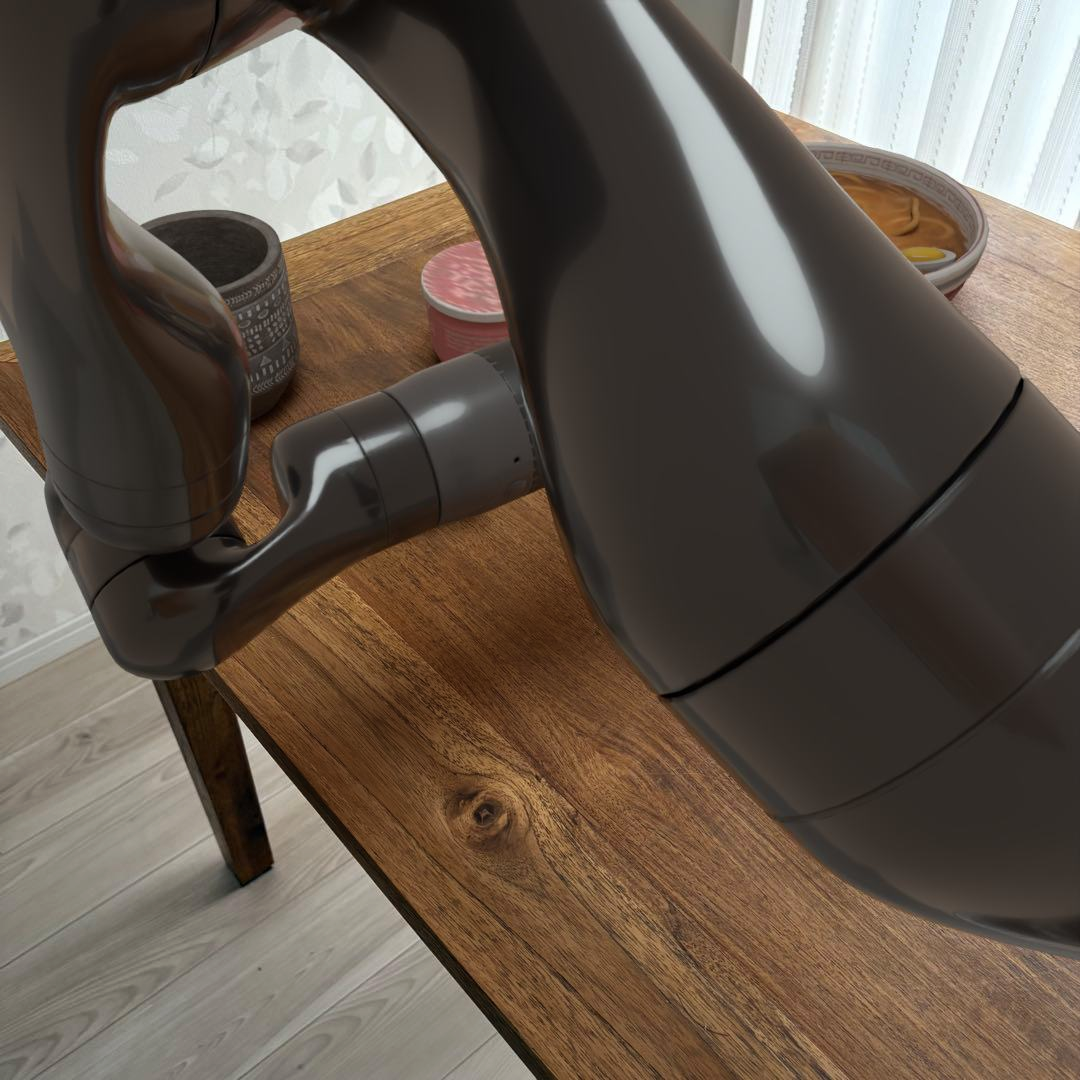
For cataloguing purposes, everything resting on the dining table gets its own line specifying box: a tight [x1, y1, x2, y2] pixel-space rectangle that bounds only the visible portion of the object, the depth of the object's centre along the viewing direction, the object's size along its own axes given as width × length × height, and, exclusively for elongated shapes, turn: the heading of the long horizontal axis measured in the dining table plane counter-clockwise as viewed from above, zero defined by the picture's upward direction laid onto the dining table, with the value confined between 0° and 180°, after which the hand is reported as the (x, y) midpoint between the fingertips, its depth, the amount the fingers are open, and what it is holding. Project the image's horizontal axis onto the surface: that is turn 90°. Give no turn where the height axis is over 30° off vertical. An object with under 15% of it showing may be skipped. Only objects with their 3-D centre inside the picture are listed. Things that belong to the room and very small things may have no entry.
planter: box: [139, 209, 301, 422], centre depth 84 cm, size 12×12×13 cm
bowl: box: [802, 141, 990, 302], centre depth 93 cm, size 23×23×10 cm
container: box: [420, 240, 510, 363], centre depth 89 cm, size 10×10×8 cm
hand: (753, 323), depth 61 cm, fingers closed on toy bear, 5 cm apart
